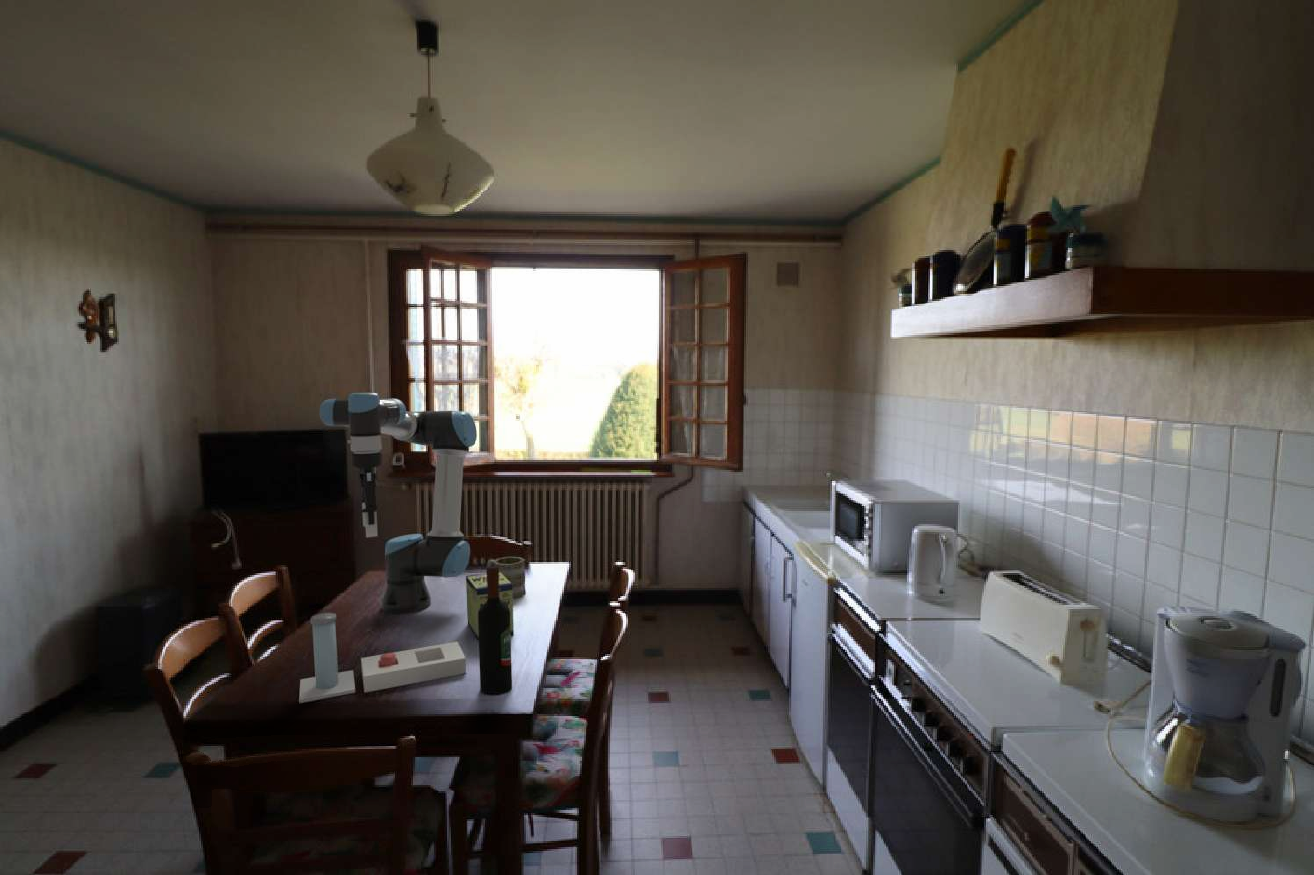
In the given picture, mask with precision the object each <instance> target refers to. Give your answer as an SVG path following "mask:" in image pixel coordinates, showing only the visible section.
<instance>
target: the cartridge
mask: <svg viewBox="0 0 1314 875" xmlns="http://www.w3.org/2000/svg"><path fill="white" fill-rule="evenodd" d="M336 621H337V614H336V613H333V612H324V613H323V612H322V613H319V614H315V615H312V616H311V618H310V624H311V625H312V642H313V657H314V660H313V661H314V662H313V663H314V675H315V676H314V677H315V680H316V688H318V689H327V688H331V687H334V686H336V685H337V684H338V673H339V669H338V668H339V666H338V649H337V648H338V647H337V630H336V628H337V627H336Z"/></svg>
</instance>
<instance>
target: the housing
mask: <svg viewBox="0 0 1314 875" xmlns="http://www.w3.org/2000/svg"><path fill="white" fill-rule="evenodd" d="M393 653H394V654H396V665H391V666H386V667H381V662H380V656H381V655H383V654H384V653H383V654H377V655H373V656H366V657H361V659H360V663H361V664H360V665H361V675H362V676H361V677H362V684H363V690H364V693H369V692H375V691H381V690H385V689H390V688H396V687H401V686H405V685H410V684H416V683H421V682H426V681H427V682H428V681H432V680H437V679H443V678H448V677H452V676H457V675H463V674H466V673H467V663H466V662H467V661H466V660H467V658H466V655H465V654H464V651H463V649H462V647H461V646H460V643H459V642H458V641H451V642H447V643H441V644H437V645H429V646H424V647H419V648H412V649H408V650H406V649H405V650H401V651H395V652H394V651H393Z"/></svg>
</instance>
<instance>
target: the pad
mask: <svg viewBox="0 0 1314 875" xmlns="http://www.w3.org/2000/svg"><path fill="white" fill-rule="evenodd" d="M354 676H355V675H354V670H353V669H352V670H347V671H346V670H345V671H341V672H338V684H337V685H336V686H334V687H331V688H327V689H318V688H316V680H315V676H312V677H307V678H303V679H301V678H300V683H299V695H298V696H299V698H298V702H299V704H303V703H308V702H312V701H317V700H318V701H319V700H323V699H329V698H334V697H339V696H345V695H350V694H355V693H356V685H355V677H354Z"/></svg>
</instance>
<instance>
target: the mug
mask: <svg viewBox="0 0 1314 875" xmlns="http://www.w3.org/2000/svg"><path fill="white" fill-rule="evenodd" d="M486 564H487V565H486V568H487V567H491V566H497V567H498V569H499V572H501V573H502V574H503V575H504V576H505V577H506V578H507V579H508V580H509V581H510V582H511V583H512V591H513V600H515V599H520V598H523V597H524V596H525V595H527V591H526V572H525V568H526V567H525V564H526V559H525V558H523V557H521V556H505V557H499V558H496V559H490V560H488V561H487V563H486Z"/></svg>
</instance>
